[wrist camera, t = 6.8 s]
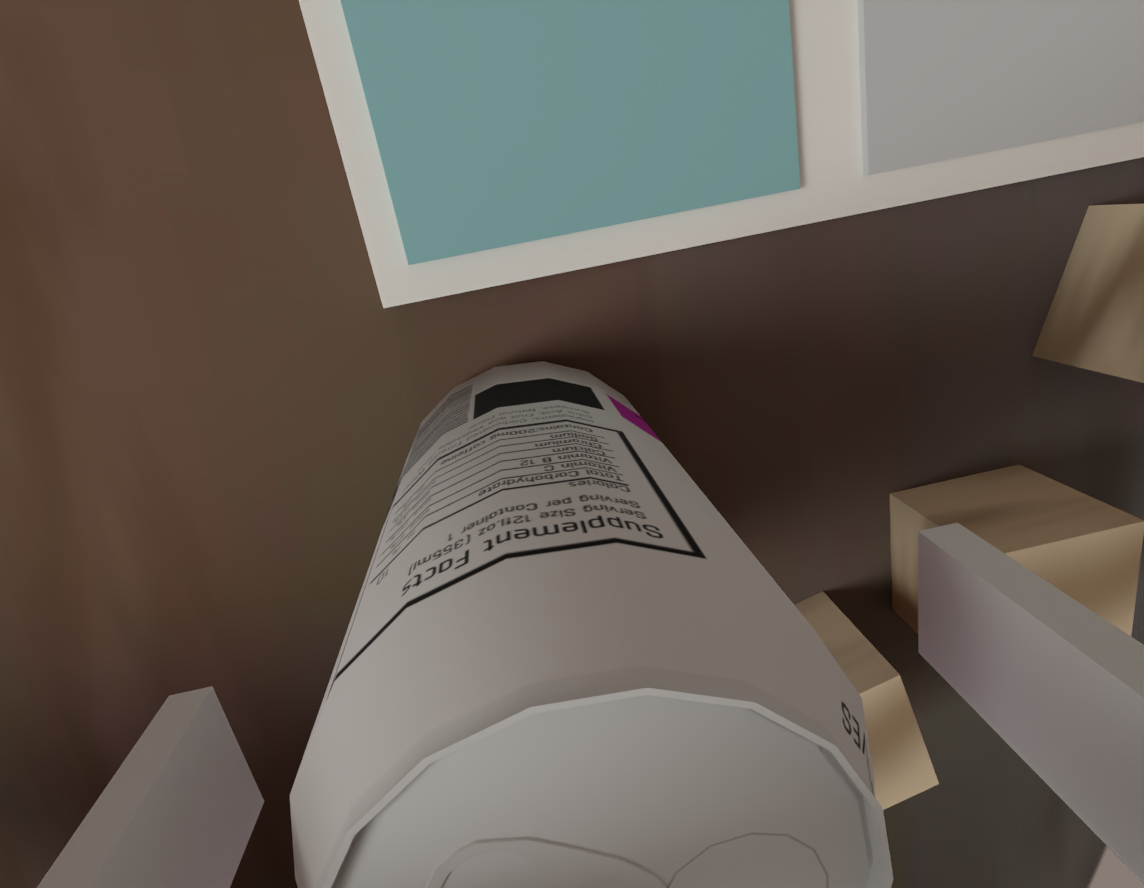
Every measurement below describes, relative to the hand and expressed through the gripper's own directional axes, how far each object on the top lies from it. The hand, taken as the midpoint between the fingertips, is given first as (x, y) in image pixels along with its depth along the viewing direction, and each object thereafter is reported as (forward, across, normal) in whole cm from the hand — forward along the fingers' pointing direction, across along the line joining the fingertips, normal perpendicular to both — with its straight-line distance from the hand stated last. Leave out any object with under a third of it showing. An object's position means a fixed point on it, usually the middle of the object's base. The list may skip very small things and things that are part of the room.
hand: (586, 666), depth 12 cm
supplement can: (+10, 0, 0) cm, 11 cm away
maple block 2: (+11, -14, +6) cm, 19 cm away
